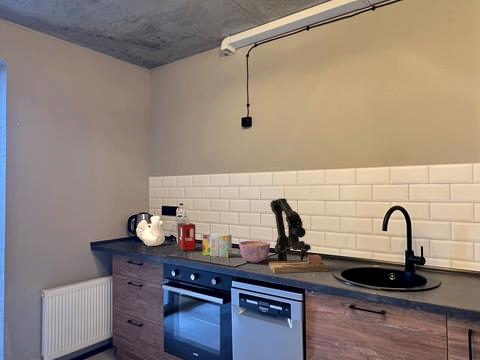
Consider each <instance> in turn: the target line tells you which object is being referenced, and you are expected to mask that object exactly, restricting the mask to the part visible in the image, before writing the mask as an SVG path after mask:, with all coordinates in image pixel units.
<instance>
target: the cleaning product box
mask: <svg viewBox="0 0 480 360" xmlns="http://www.w3.org/2000/svg"><path fill="white" fill-rule="evenodd" d="M196 239H197V237H196V224H195V223H191V222H180V223H179V222H178V223H177V249H178V250H179V249H180V250H182V251H183V252H187V251H196V246H197V245H196V241H197V240H196ZM180 250H179V251H180ZM182 251H181V252H182ZM183 252H182V253H183ZM196 252H197V251H196ZM187 253H188V252H187Z"/></svg>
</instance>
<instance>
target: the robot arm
mask: <svg viewBox="0 0 480 360" xmlns="http://www.w3.org/2000/svg"><path fill="white" fill-rule="evenodd" d="M269 206H270V208H271V212H272V213H273V214H274V217H275V223H276V229H277V238H276V244H275V246H274V252H275V253H277V259H276V262H279V261H285V262H286V263H287V261H289V260H288V252H291V250H293V251H300V261H301V262H302V261H304V260H303V259H304V258H305V255H306V253H307V252H309V251H310V250H311V245H310V244H308V243H305V241H304V240H301V241H300V238H304V237H305V236H306V234H307V233H306V229H305V227H303V221H302V218H301V216H300V214H299V213H298V212H297V211H295V210H293V208H292V207H291V206H290V204H289V203H288V201H287V199H286V198H285V197H283V198H278V199H273V200H271V201H270V205H269ZM283 214H285V221H286V223H287V225H286V226H287V234H288V236H287V234H286V228H285V223H284V215H283Z"/></svg>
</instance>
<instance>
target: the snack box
mask: <svg viewBox="0 0 480 360" xmlns="http://www.w3.org/2000/svg"><path fill="white" fill-rule="evenodd" d="M232 237H233V234H229V233H228V234H226V233H223V234H222V233H212V232H211V233H210V232H209V233H207V232H206V233H202V256H206V255H210V256H209V257H216V256H219V258H225V257H226V258H227V259H228V258H233V257H232V254H233V253H232V252H233V251H232V249H233V248H232V245H233V243H232V241H233V240H232V239H233V238H232Z"/></svg>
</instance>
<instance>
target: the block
mask: <svg viewBox="0 0 480 360" xmlns="http://www.w3.org/2000/svg"><path fill="white" fill-rule="evenodd" d="M307 260H308V263H310V264H311V265H313V264H321V262H322V256H320V255H318V254H314V255H313V254H312V255H307Z"/></svg>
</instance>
